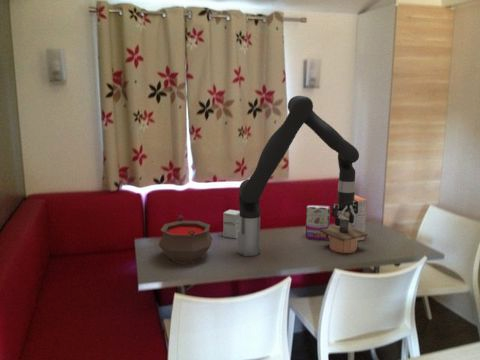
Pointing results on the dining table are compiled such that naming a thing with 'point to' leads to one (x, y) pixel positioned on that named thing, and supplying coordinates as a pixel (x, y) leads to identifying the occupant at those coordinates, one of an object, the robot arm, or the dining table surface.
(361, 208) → the cracker box
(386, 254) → the dining table surface
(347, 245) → the terracotta bowl
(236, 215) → the supplement box
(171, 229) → the brown cooking pot
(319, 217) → the candy bar box
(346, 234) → the walnut lid
